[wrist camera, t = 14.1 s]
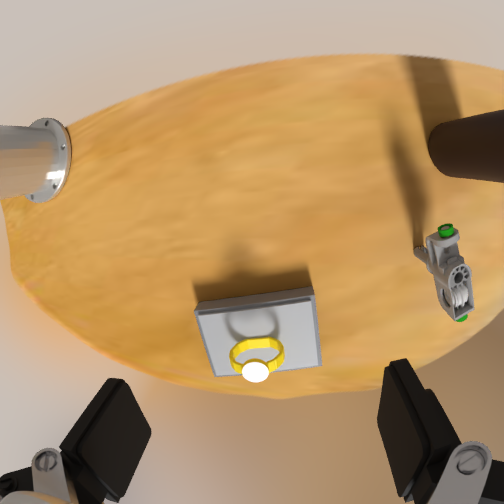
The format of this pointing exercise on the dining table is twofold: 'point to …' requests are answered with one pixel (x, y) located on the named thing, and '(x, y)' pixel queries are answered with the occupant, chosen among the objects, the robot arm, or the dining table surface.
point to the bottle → (470, 147)
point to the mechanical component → (448, 272)
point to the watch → (256, 367)
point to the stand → (261, 328)
